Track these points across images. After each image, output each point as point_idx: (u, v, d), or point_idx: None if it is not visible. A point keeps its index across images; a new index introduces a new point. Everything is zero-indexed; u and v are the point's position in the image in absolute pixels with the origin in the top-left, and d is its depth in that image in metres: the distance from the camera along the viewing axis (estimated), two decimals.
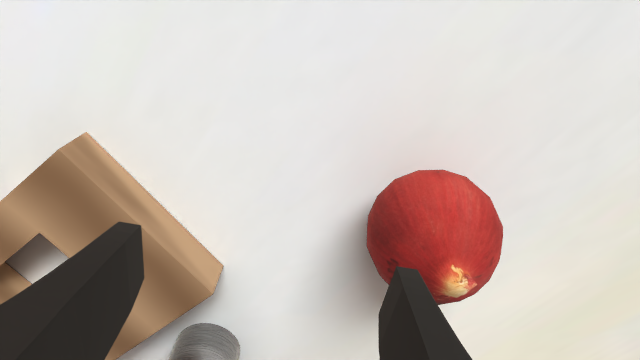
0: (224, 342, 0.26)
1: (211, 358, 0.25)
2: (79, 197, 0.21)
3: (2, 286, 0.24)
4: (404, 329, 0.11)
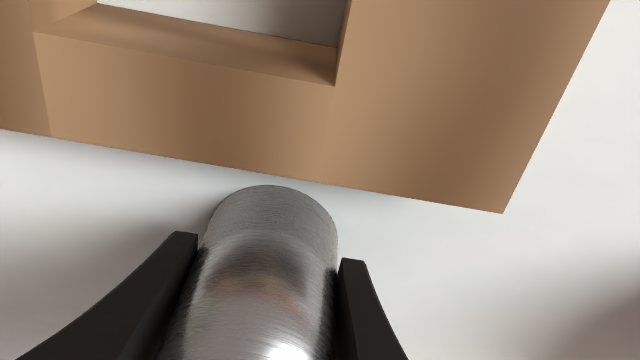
0: None
1: (335, 290, 0.11)
2: None
3: None
4: (342, 319, 0.11)
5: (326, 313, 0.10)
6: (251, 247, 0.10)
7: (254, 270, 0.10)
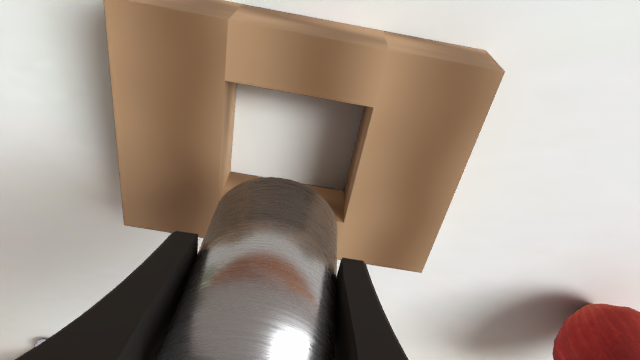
0: (336, 251, 0.13)
1: (334, 276, 0.12)
2: (452, 120, 0.17)
3: (230, 92, 0.18)
4: (342, 320, 0.11)
5: (325, 297, 0.11)
6: (252, 235, 0.11)
7: (254, 257, 0.10)
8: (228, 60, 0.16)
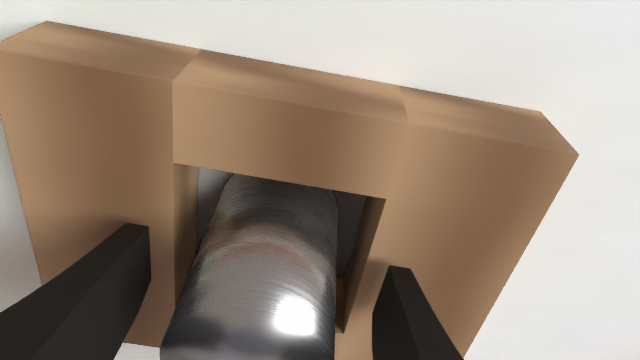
0: None
1: (334, 249, 0.13)
2: (498, 217, 0.12)
3: (186, 169, 0.13)
4: (395, 328, 0.11)
5: (326, 265, 0.12)
6: (259, 209, 0.12)
7: (261, 227, 0.11)
8: (176, 136, 0.11)
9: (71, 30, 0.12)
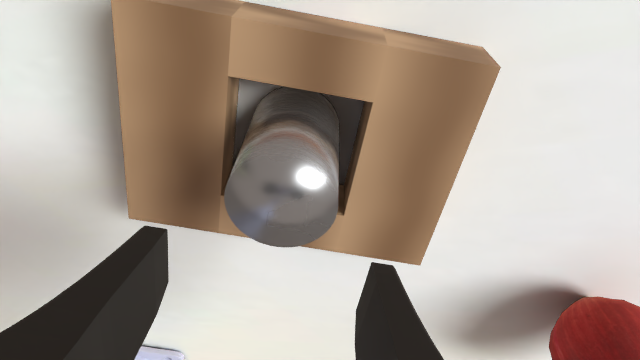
0: None
1: (337, 143, 0.18)
2: (450, 115, 0.17)
3: (233, 88, 0.18)
4: (376, 325, 0.11)
5: (332, 147, 0.17)
6: (285, 111, 0.17)
7: (288, 120, 0.17)
8: (231, 56, 0.16)
9: None
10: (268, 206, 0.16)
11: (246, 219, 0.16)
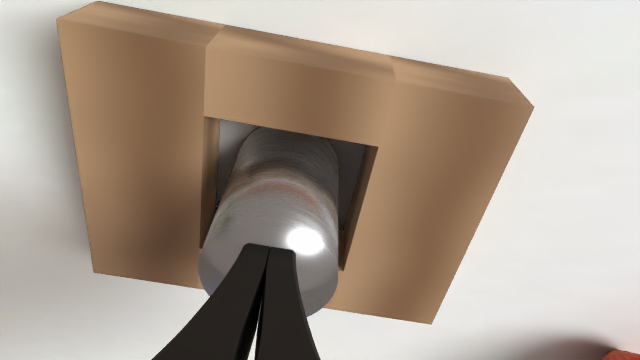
0: None
1: (336, 191, 0.15)
2: (471, 162, 0.14)
3: (212, 126, 0.15)
4: (262, 307, 0.11)
5: (330, 200, 0.14)
6: (273, 157, 0.14)
7: (276, 169, 0.14)
8: (207, 93, 0.13)
9: (119, 8, 0.14)
10: None
11: None
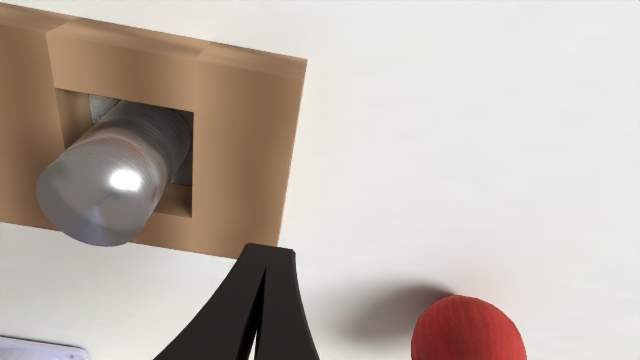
0: (183, 142, 0.21)
1: (169, 149, 0.19)
2: (267, 124, 0.18)
3: (73, 98, 0.19)
4: (261, 307, 0.11)
5: (153, 152, 0.18)
6: (112, 119, 0.18)
7: (108, 127, 0.18)
8: (54, 69, 0.17)
9: None
10: (80, 208, 0.17)
11: (63, 220, 0.17)
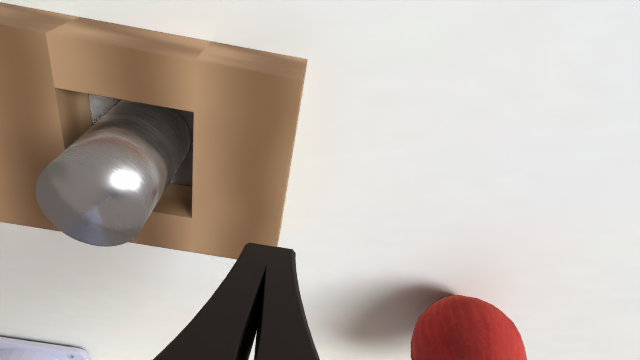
0: (183, 142, 0.21)
1: (169, 148, 0.19)
2: (267, 124, 0.18)
3: (73, 98, 0.19)
4: (261, 307, 0.11)
5: (153, 152, 0.18)
6: (112, 119, 0.18)
7: (108, 127, 0.18)
8: (54, 69, 0.17)
9: None
10: (79, 207, 0.17)
11: (63, 220, 0.17)
